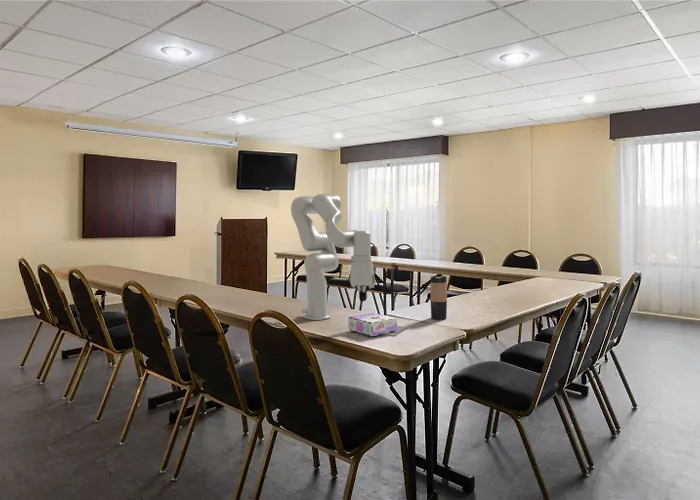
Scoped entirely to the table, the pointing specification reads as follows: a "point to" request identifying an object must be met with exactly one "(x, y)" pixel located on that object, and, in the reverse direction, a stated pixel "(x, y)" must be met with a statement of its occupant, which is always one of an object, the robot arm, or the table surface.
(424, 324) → the table surface
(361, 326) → the candy box
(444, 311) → the travel mug
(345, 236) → the robot arm
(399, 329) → the mat
